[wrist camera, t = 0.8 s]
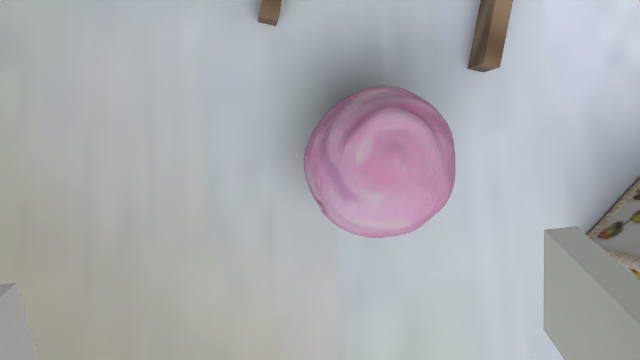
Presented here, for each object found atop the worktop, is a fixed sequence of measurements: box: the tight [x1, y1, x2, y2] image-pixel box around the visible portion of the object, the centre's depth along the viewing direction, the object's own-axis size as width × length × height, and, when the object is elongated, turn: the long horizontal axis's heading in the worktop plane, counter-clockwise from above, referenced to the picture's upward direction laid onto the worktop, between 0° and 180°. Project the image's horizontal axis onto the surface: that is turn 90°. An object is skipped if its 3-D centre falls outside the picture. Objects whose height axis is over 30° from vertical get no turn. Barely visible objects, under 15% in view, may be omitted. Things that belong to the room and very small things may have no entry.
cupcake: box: [304, 86, 455, 238], centre depth 33 cm, size 9×9×10 cm
